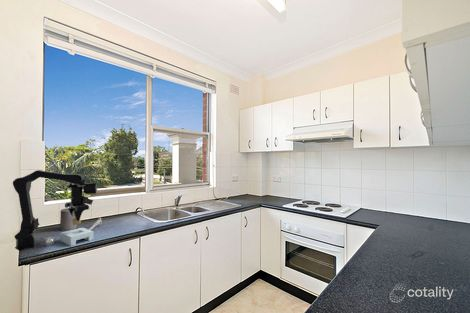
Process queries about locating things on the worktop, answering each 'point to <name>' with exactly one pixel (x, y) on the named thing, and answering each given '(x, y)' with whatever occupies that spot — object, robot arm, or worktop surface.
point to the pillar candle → (66, 220)
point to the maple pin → (76, 220)
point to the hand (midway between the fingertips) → (76, 220)
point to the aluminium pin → (49, 241)
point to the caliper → (96, 223)
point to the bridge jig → (76, 235)
